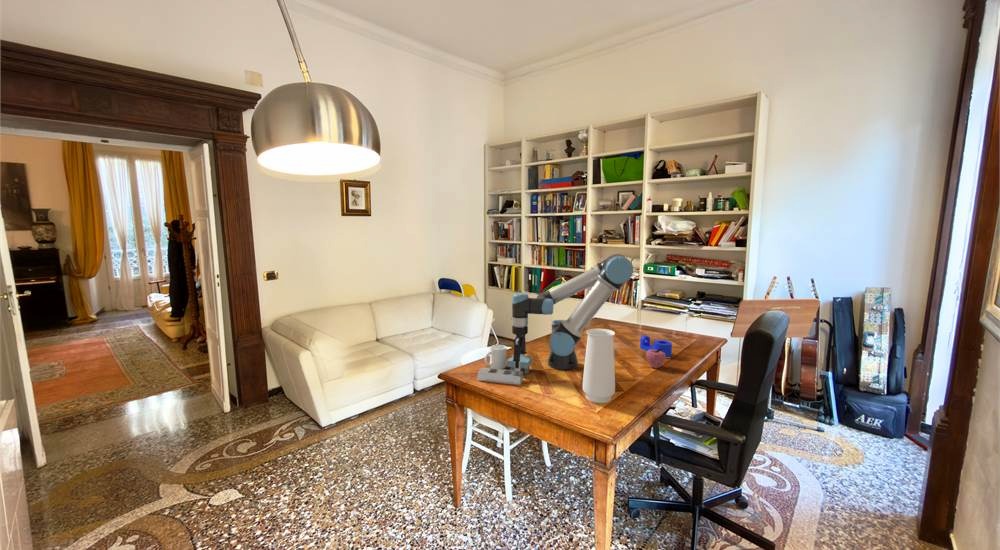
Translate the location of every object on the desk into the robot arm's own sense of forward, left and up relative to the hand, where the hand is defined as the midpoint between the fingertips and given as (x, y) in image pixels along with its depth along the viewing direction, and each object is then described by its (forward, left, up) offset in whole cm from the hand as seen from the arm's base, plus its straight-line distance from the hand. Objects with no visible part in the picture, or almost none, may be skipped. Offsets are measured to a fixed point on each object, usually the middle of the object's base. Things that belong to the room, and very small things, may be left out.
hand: (519, 370), depth 194 cm
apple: (-64, -24, -1) cm, 68 cm away
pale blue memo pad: (0, 0, 0) cm, 0 cm away
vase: (-38, +20, -1) cm, 43 cm away
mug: (+13, -2, -1) cm, 13 cm away
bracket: (-66, -48, -1) cm, 82 cm away
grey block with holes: (+6, +13, 0) cm, 14 cm away
